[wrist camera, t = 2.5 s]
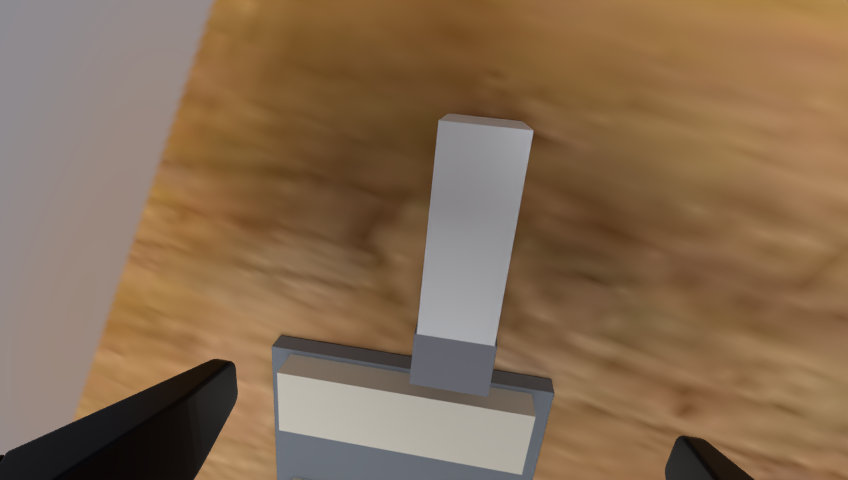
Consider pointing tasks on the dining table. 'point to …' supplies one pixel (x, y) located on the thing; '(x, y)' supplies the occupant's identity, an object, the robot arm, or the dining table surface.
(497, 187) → the grey white bar
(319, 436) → the rack
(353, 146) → the dining table surface
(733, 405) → the dining table surface
